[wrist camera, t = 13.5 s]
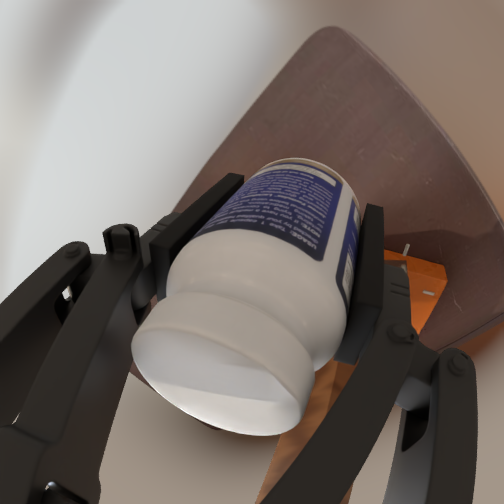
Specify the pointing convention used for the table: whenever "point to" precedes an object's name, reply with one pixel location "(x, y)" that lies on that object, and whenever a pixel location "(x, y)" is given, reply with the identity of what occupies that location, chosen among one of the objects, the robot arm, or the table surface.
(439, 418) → the robot arm
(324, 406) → the brown wooden square column
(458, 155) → the table surface
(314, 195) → the pill bottle
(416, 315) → the orange flat square block
